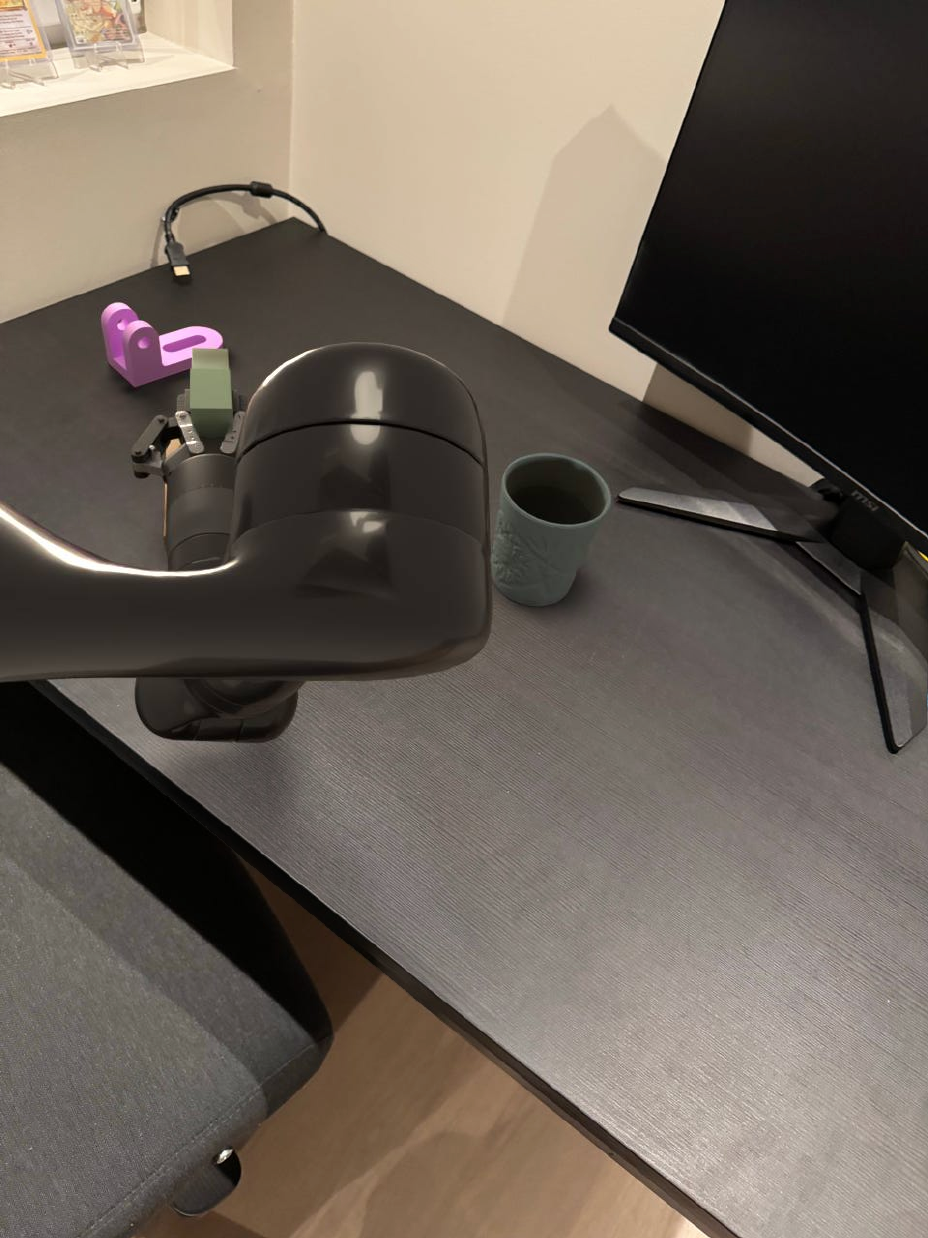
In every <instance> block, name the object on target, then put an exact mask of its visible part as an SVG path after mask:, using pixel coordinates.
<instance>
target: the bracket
mask: <svg viewBox="0 0 928 1238" xmlns="http://www.w3.org/2000/svg"><path fill="white" fill-rule="evenodd" d="M100 316H101V317H100V324H101V329H102V330H101V331H102V336H103V341H104V346H105V347H104V348H105V352H106V357H107V364H109V365H110V366H111V367H112V368H113V369H114V370H115V371H116V372H118V374H120V375H121V376H122V377H123V378H124V379H125V381H127V382H128V383H129V384H131V386H132V387H134V388H138V387H140V386H143V385H146V384H150V383H152V382H156V381H158V380H161V379H164V378H166V377H170V376H172V375H176V374H178V373H182V372H184V371H188V370H190V369H191V368H192V348H209V349H224V343H223V342H224V341H223V336H222V335H221V334H220V333H219V332H218V331H216V330H215V329H213V328H210V327H206V326H200V325H199V326H195V325H194V326H188V327H184V328H181V329H178V330H175V331H171V332H168V333H165V334H161V335H160V334H159V333H158V331H157V330H156V329H155V328H153V326H152V325H150V324H149V323H148V322H146V321H144V320H139V316H138V314H137V312H135V311H134V310H133V309H132V308H130V307H129V306H128V305H127V304H125V303H123V302H113V303H111V304H109V305H107V307H105V309H104V310H103V312H102V314H101V315H100Z"/></svg>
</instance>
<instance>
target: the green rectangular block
mask: <svg viewBox="0 0 928 1238" xmlns="http://www.w3.org/2000/svg"><path fill="white" fill-rule="evenodd" d="M189 377H190V378H189V389H190V413H191V423H192V424H194V425H195V427H196V430H197V432H198V435H199V436H204V437H210V438H215V437H222V436H226V433H227V430H228V427H229V424H233V409H232V390H233V387H232V372H231V368H229V369H198V368H190V369H189Z"/></svg>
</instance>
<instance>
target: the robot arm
mask: <svg viewBox="0 0 928 1238" xmlns="http://www.w3.org/2000/svg"><path fill="white" fill-rule="evenodd" d="M232 409H233V424H229V427H228V430H227V433H226V436H222V437H215V438H210V437H204V436H199V435H198V432H197V430H196V427H195V425H194V424H192V423H191V413H190V388H184V393H183V394H181V393H180V394H178V396H176V413H175V415H174V416H172V417H170V418H169V417H168V416H166V415H162V414H160V415H159V414H158V415H156V416H155V417H154V418H153V419H152V420H151V422H150V423H149V424H148V426H147V427H146V429H144V431H143V433H142V434H141V435H140V437H139V439H138V440H137V441H136V443H134V445H133V447H132V448H131V449H130V458H131V466H132V470H133V475H134V477H135V478H136V479H139V480H142V479H146V478H149V476H150V475H155V476H159V477H161V479H162V481H163V482H164V484H165V483H166V485H167V502H166V535H165V542H164V544H165V543H166V547H165V550H166V557H167V565H168V566H167V570H166V569H165V570H163V569H153V568H142V567H138V566H133V565H129V564H124V563H120V562H115V561H112V560H110V559H108V558H106V557H103V556H100V555H99V554H96V553H94V552H92V551H90V550H87V549H85V548H82V547H81V546H79V545H77V544H75V543H73V542H70V541H69V540H67V539H65V538H63V537H61V536H60V535H59V534H56V533H54V532H53V531H51V530H50V529H48V528H46V527H45V526H43V525H42V524H41V523H39V522H37V521H36V520H34V519H32V518H31V517H29V516H28V515H26V513H24V512H22V511H20V510H19V509H17V508H16V507H14V506H13V505H11V504H10V503H8V502H7V501H4V500H3V499H1V498H0V683H17V682H31V681H49V680H52V681H53V680H70V679H71V680H73V679H135V683H134V704H135V705H134V706H135V709H136V712H137V715H138V717H139V719H140V722H141V723H142V725H143V726H144V727H145V729H147V730H148V731H149V732H150V733H151V734H153V735H154V736H157V737H159V738H160V739H165V740H168V741H176V742H205V743H206V742H210V743H230V744H231V743H235V744H264V743H269V742H272V741H274V740H276V739H278V738H279V737H280V736H281V735H283V733H284V732H285V731H286V730H287V729H288V728H289V726H290V725H291V723H292V721H293V719H294V717H295V715H296V712H297V708H298V701H299V690H300V689H301V688H302V687H303V686H304V685H305V684H306V682H371V681H388V680H397V679H406V678H415V677H420V676H427V675H430V674H434V673H439V672H444V671H447V670H451V669H453V668H454V667H457V666H461V665H463V664H465V663H467V662H469V661H470V660H471V659H473V658H474V657H475V656H476V655H478V654H479V653H480V652H481V651H482V650H483V649H484V648H485V646H486V645H487V643H488V641H489V638H490V635H491V633H492V624H493V606H494V605H493V581H492V564H491V554H492V541H491V540H492V539H491V512H490V511H491V509H490V505H491V504H490V475H489V460H488V446H487V440H486V431H485V428H484V423H483V418H482V415H481V412H480V410H479V407H478V405H477V402H476V399H475V397H474V395H473V394H472V392H471V390H470V389H469V388H468V386H467V385H466V384H465V382H464V381H463V379H461V377H459V376H458V375H457V374H455V373H454V371H452V370H451V369H450V368H449V367H447V366H446V364H444V363H442V362H440V361H438V360H436V359H434V358H432V357H431V356H428V355H427V354H424V353H422V352H418V351H415V350H413V349H410V348H407V347H403V346H398V345H394V344H387V343H382V342H362V341H352V342H342V343H333V344H328V345H323V346H321V347H320V346H319V347H317V348H313V349H310V350H307V351H305V352H303V353H301V354H299V355H296V356H295V357H293V358H290V359H288V360H287V361H284V363H282V364H280V365H279V366H278V367H276V368H275V369H274V370H273V371H272V372H271V373H270V374H269V375H268V376H266V378H265V379H264V380H263V381H262V382H261V383H260V385H259V386H258V388H257V389H256V391H255V392H254V393H253V395H252V397H251V399H250V401H249V403H248V398H247V396H246V395H245V394H240V390H239V389H232ZM174 439H179V442H180V445H181V446H180V447H179V448H178V449H177V450H175V451H174V452H173V453H172V454H170V455H169V456H168V457H167V458H166V457H165V458H164V459H163V460H162V457H163V456H164V454H165V453H166V449H167V448H168V446H169V445H170V443H171V440H174Z"/></svg>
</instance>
